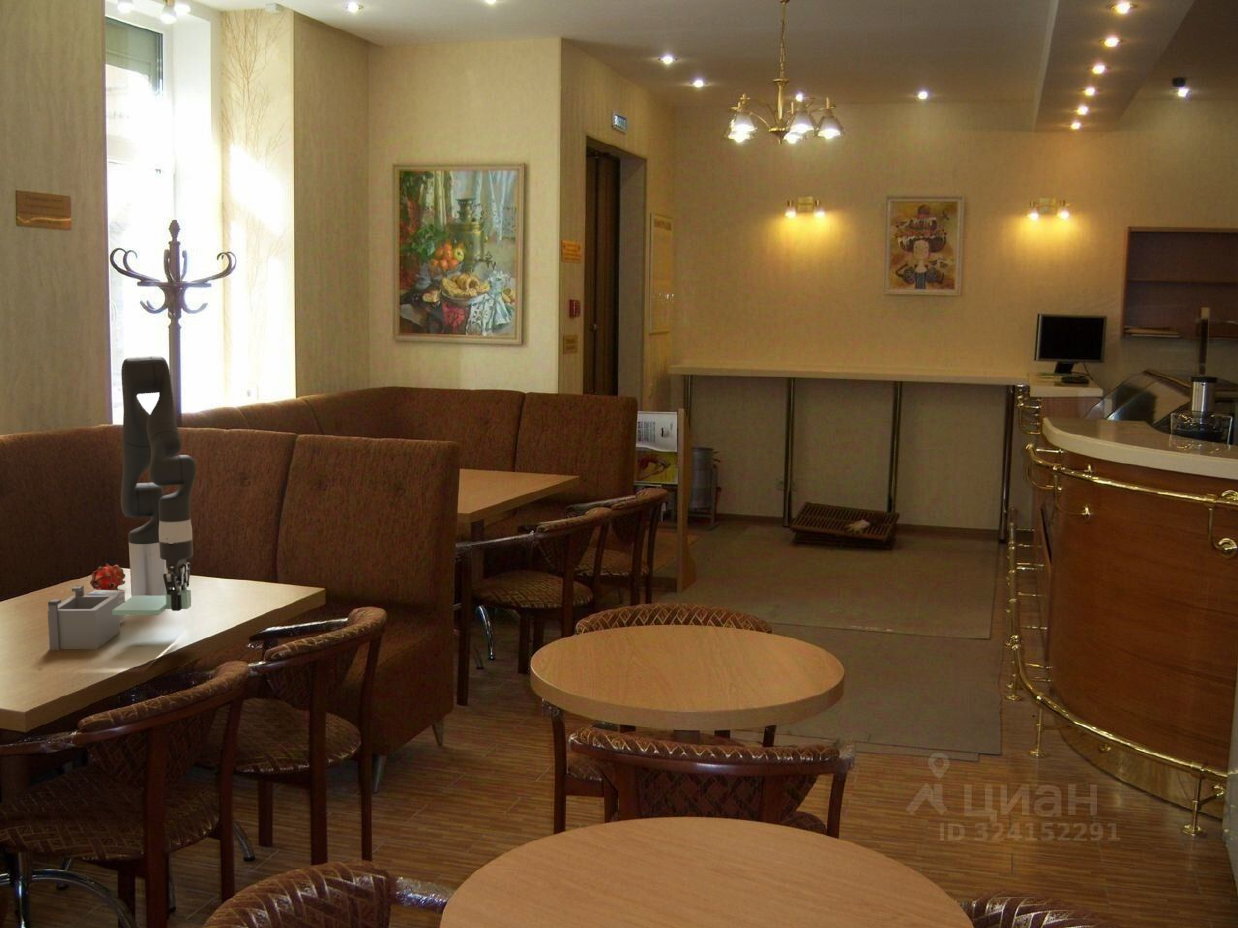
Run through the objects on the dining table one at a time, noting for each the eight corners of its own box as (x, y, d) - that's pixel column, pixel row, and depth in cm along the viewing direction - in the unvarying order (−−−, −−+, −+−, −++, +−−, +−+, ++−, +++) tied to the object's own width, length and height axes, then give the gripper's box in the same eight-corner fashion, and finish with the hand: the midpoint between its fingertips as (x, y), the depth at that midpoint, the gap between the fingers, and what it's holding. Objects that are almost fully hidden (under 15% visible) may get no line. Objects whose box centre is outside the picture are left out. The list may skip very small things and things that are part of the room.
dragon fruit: (126, 592, 349) (98, 607, 338) (104, 574, 350) (75, 589, 339) (137, 571, 346) (109, 586, 335) (115, 553, 347) (86, 567, 336)
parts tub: (76, 633, 299) (73, 585, 297) (121, 633, 300) (119, 585, 298) (48, 653, 283) (45, 602, 281) (96, 652, 283) (93, 601, 282)
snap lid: (133, 600, 297) (133, 584, 296) (198, 600, 297) (197, 584, 297) (112, 615, 282) (111, 598, 282) (180, 614, 283) (179, 598, 283)
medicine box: (126, 623, 310) (125, 590, 309) (118, 627, 305) (116, 594, 304) (97, 622, 311) (96, 589, 309) (88, 626, 306) (86, 593, 305)
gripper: (169, 533, 295) (172, 601, 297) (150, 544, 281) (153, 616, 283) (200, 532, 295) (203, 601, 297) (182, 543, 281) (185, 615, 283)
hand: (178, 608), depth 290 cm, fingers closed on snap lid, 3 cm apart
